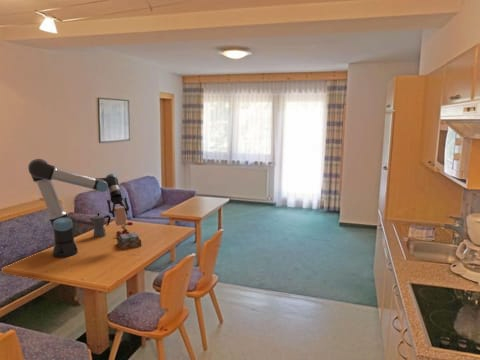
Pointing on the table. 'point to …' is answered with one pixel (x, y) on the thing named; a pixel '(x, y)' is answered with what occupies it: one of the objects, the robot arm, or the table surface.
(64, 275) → the table surface
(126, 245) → the tower base
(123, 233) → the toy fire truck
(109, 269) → the table surface
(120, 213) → the column brick
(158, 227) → the table surface
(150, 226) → the table surface
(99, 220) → the coffeepot
